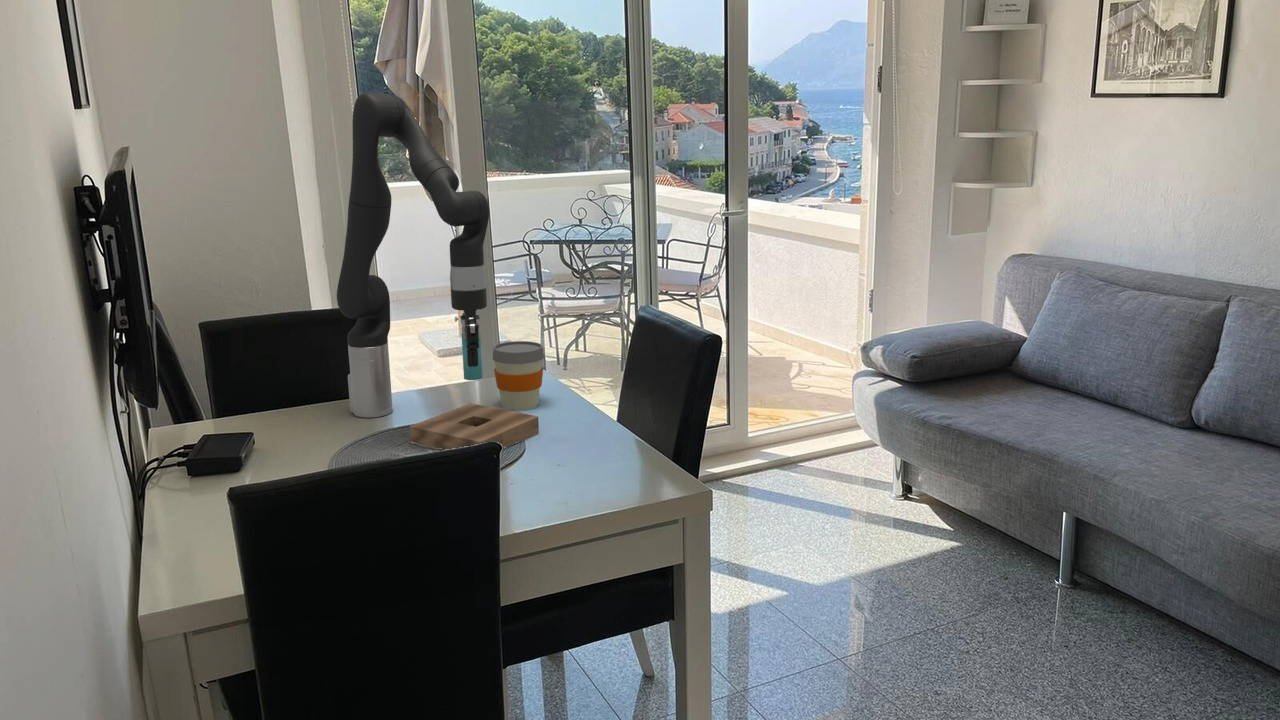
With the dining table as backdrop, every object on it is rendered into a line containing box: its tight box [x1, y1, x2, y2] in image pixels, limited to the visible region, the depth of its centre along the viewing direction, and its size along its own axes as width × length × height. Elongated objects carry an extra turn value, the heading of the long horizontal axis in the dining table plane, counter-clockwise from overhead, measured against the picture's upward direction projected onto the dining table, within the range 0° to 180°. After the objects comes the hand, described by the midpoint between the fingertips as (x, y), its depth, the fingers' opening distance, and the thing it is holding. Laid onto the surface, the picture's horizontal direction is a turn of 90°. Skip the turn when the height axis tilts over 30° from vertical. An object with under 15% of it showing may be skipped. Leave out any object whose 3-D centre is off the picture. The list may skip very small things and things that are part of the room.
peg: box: [461, 332, 483, 381], centre depth 201 cm, size 4×4×10 cm
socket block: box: [409, 402, 540, 451], centre depth 205 cm, size 20×20×4 cm
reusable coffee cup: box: [492, 340, 545, 412], centre depth 228 cm, size 13×13×15 cm
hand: (472, 363), depth 201 cm, fingers closed on peg, 4 cm apart
